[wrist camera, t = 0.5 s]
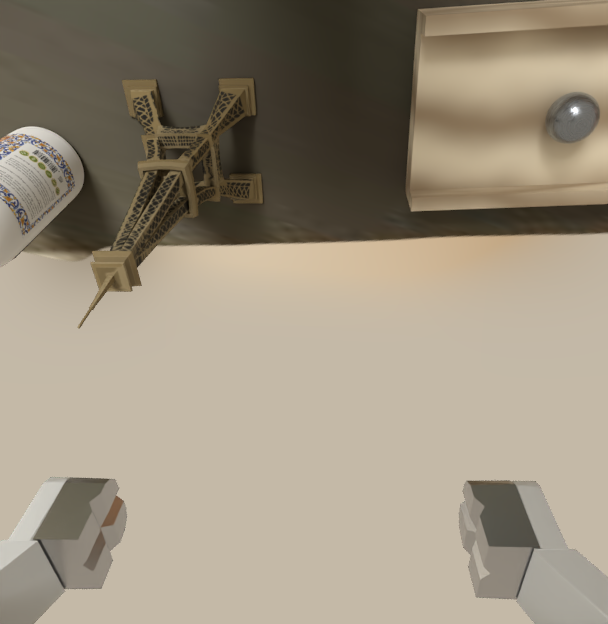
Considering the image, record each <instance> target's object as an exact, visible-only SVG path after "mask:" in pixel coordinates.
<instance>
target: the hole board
mask: <svg viewBox="0 0 608 624" xmlns="http://www.w3.org/2000/svg"><path fill="white" fill-rule="evenodd" d="M571 92H584V93H587V94H589V95H591V96H592V97H594V98H595V99H596V101H597V102H598V104H599V107H600V119H599V122H598V125H597V127H596V128H595V130H594V131H593V132H592V133H591V134H590V135H589V136H588V137H587V138H585V139H583V140H581V141H579V142H576V143H571V144H564V143H560V142H557V141H555V140H554V139H552V138H551V137H550V135H549V134H548V132H547V130H546V127H545V118H546V114H547V112H548V110H549V108H550V107H551V105H552V104H553V103H554V102H555V101H556V100H557V99H558V98H560V97H561V96H563V95H565V94H568V93H571ZM405 193H406V196H407V199H408V203H409V206H410V209H411V211H434V210H460V209H486V208H513V207H539V206H566V205H592V204H608V0H544V1H529V2H515V3H500V4H485V5H471V6H456V7H441V8H426V9H418V10H417V25H416V39H415V54H414V69H413V84H412V99H411V114H410V129H409V144H408V158H407V173H406V188H405Z"/></svg>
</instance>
